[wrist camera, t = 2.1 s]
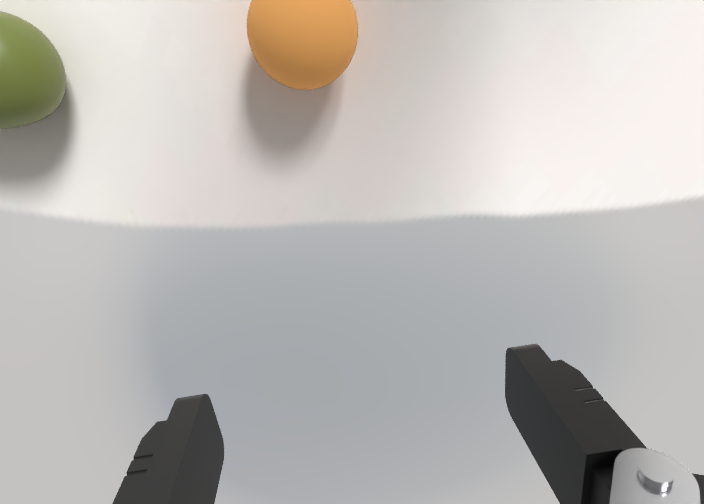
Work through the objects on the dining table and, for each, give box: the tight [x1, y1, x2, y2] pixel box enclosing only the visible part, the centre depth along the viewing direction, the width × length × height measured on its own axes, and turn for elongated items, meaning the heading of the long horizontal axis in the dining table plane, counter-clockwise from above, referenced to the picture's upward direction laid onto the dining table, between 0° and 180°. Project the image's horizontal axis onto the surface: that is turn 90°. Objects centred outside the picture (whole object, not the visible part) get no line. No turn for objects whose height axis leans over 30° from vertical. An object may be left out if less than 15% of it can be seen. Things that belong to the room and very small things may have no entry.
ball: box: [247, 0, 358, 90], centre depth 22 cm, size 6×6×6 cm
